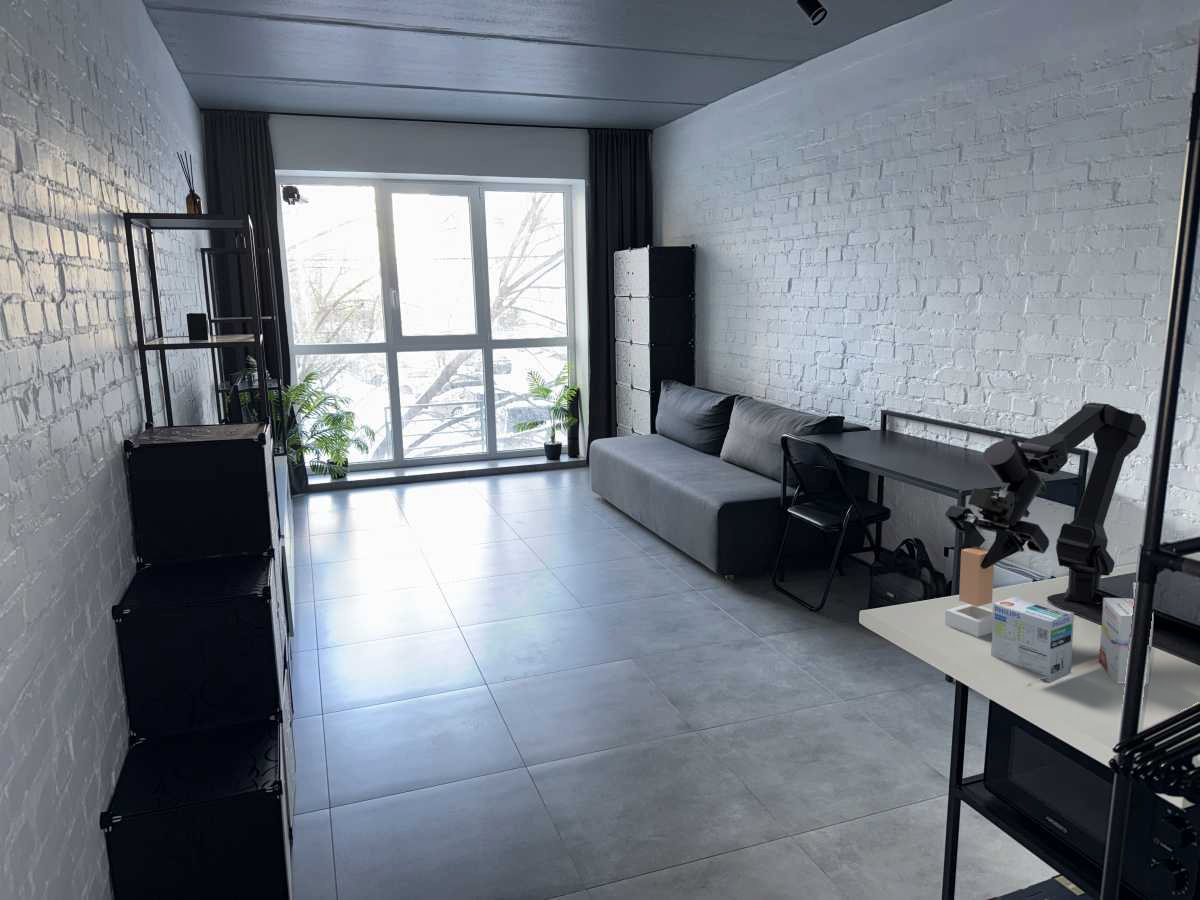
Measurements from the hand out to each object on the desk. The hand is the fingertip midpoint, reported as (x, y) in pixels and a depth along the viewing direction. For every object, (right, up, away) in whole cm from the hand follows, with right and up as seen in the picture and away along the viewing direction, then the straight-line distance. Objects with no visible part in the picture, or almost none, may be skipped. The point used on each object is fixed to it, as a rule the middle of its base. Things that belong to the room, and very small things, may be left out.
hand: (972, 564), depth 157 cm
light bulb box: (+4, -16, -12) cm, 21 cm away
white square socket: (+2, -12, +3) cm, 13 cm away
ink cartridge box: (+18, -16, -16) cm, 29 cm away
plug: (+1, -7, +2) cm, 8 cm away
